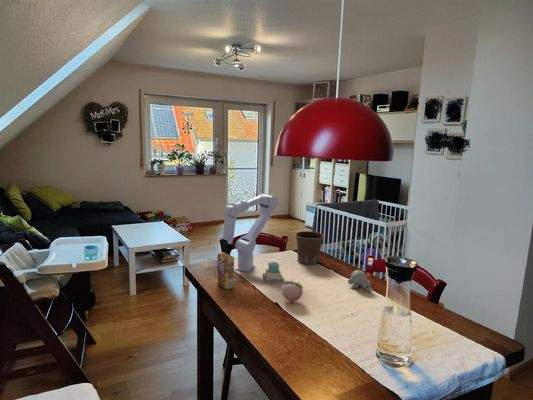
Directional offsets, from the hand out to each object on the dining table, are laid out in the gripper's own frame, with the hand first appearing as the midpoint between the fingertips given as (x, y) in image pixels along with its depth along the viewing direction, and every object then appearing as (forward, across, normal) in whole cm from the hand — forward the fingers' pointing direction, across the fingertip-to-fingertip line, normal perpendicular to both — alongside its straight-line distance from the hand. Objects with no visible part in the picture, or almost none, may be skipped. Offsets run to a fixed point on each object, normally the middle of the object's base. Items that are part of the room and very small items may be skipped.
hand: (225, 254), depth 176 cm
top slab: (+7, +12, +23) cm, 27 cm away
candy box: (+12, +13, -1) cm, 18 cm away
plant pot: (+4, -10, +51) cm, 52 cm away
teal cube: (+4, +12, +23) cm, 26 cm away
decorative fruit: (+10, +36, +25) cm, 45 cm away
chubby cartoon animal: (+5, +31, +62) cm, 69 cm away
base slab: (+9, +11, +24) cm, 28 cm away
